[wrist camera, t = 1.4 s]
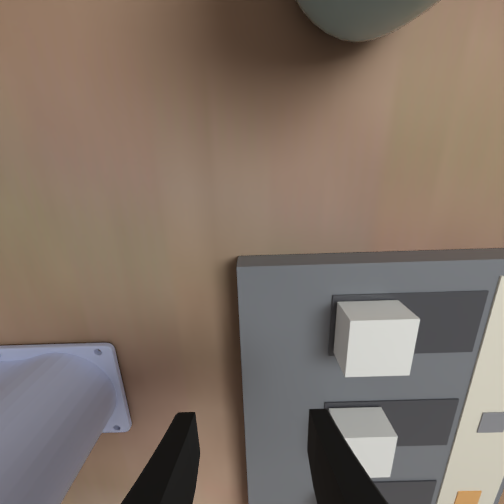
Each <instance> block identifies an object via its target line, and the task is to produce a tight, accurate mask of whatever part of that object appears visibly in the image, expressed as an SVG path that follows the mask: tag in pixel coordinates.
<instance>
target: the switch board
mask: <svg viewBox="0 0 504 504" xmlns="http://www.w3.org/2000/svg"><path fill="white" fill-rule="evenodd" d="M237 286H238V306H239V325H240V345H241V365H242V384H243V404H244V423H245V443H246V463H247V482H248V502H249V504H317V500H316V496H315V492H314V488H313V483H312V477H311V471H310V465H309V459H308V453H307V442H308V422H309V409H327V410H328V411H329V408H361V407H381V408H382V409H383V411H384V413H385V415H386V417H387V418H388V420H389V422H390V424H391V425H392V427H393V429H394V431H395V433H396V434H397V436H398V438H397V444H396V449H395V454H394V459H393V464H392V470H391V475H390V477H380V478H371V480H372V481H373V483H374V484H375V485H376V487H377V488H378V490H379V491H380V493H381V494H382V495H383V497H384V498H385V500H386V501H387V502H388V504H498V502H499V499H500V497H501V494H502V492H503V489H504V248H490V249H457V250H423V251H390V252H356V253H323V254H289V255H255V256H238V261H237ZM380 300H399V301H400V302H401V303H402V304H403V305H404V306H406V307H407V308H408V309H409V310H410V311H412V312H413V313H414V314H415V315H416V316H417V317H419V318H420V323H419V328H418V334H417V339H416V344H415V349H414V355H413V360H412V365H411V370H410V375H407V376H371V377H345V376H344V374H343V372H342V370H341V368H340V365H339V363H338V361H337V359H336V357H335V355H334V353H333V351H334V339H335V326H336V313H337V302H345V301H380Z"/></svg>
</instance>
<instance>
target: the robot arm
mask: <svg viewBox="0 0 504 504" xmlns="http://www.w3.org/2000/svg"><path fill="white" fill-rule="evenodd" d="M98 349H99V350H101V351H99V350H98ZM131 426H132V422H131V418H130V413H129V409H128V404H127V400H126V396H125V391H124V387H123V382H122V378H121V374H120V369H119V365H118V360H117V356H116V351H115V348H114V346H113V345H112V344H110V343H77V344H42V345H7V346H0V504H61V502H62V500H63V499H64V497H65V495H66V494H67V492H68V490H69V488H70V487H71V485H72V483H73V481H74V480H75V478H76V476H77V475H78V473H79V471H80V469H81V468H82V466H83V464H84V462H85V461H86V459H87V457H88V456H89V454H90V452H91V450H92V449H93V447H94V445H95V443H96V442H97V440H98V438H99V436H100V435H101V433H109V432H127V431H129V430H130V428H131ZM307 453H308V459H309V465H310V471H311V477H312V483H313V488H314V492H315V496H316V500H317V504H388V502H387V501H386V500H385V498H384V497H383V495H382V494H381V493H380V491H379V490H378V488H377V487H376V485H375V484H374V483H373V481H372V480H371V478H370V477H369V475H368V474H367V472H366V471H365V469H364V468H363V466H362V465H361V463H360V462H359V460H358V459H357V457H356V456H355V454H354V453H353V451H352V449H351V448H350V446H349V445H348V443H347V441H346V440H345V438H344V437H343V435H342V433H341V432H340V430H339V428H338V426H337V425H336V423H335V421H334V420H333V418H332V416H331V414H330V412H329V411H328V410H327V409H309V422H308V442H307ZM199 459H200V447H199V439H198V431H197V423H196V415H195V412H180V413H177V414H176V415H175V417H174V419H173V421H172V423H171V424H170V426H169V428H168V430H167V432H166V433H165V435H164V437H163V439H162V440H161V442H160V444H159V445H158V447H157V449H156V450H155V452H154V454H153V455H152V457H151V458H150V460H149V462H148V463H147V465H146V466H145V468H144V469H143V471H142V473H141V474H140V476H139V477H138V479H137V481H136V482H135V484H134V485H133V487H132V488H131V490H130V491H129V493H128V494H127V495H126V497H125V498H124V500H123V501H122V503H121V504H192V503H193V498H194V494H195V488H196V481H197V474H198V466H199Z"/></svg>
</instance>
